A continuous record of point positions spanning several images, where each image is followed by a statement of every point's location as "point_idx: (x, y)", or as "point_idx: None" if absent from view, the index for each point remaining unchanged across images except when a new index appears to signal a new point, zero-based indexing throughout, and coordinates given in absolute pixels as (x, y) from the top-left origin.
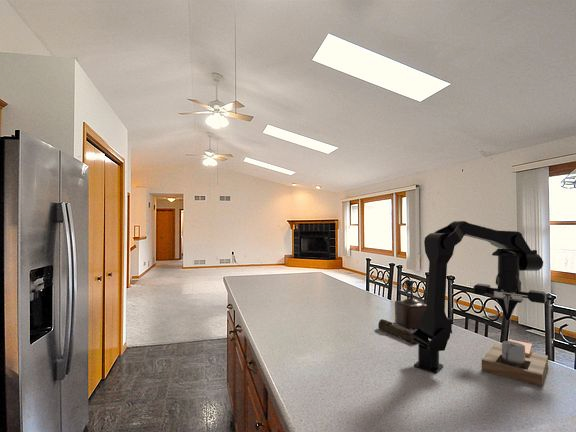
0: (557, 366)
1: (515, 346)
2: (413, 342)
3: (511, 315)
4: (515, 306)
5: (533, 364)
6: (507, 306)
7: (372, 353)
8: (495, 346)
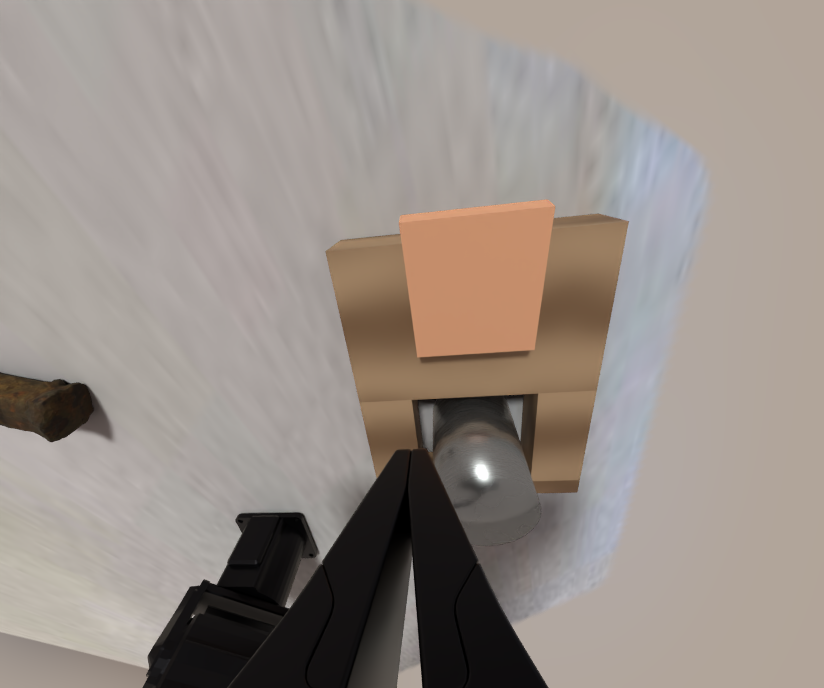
0: (648, 174)
1: (500, 532)
2: (87, 417)
3: (445, 496)
4: (525, 658)
5: (549, 418)
6: (368, 615)
7: (135, 547)
8: (349, 295)
